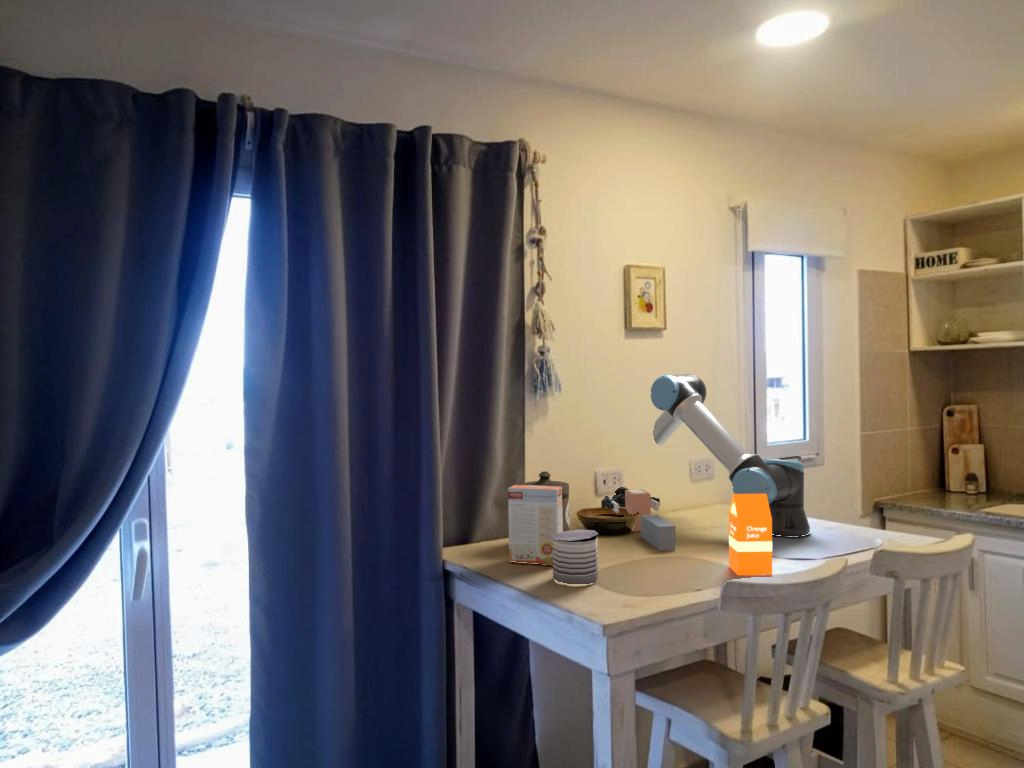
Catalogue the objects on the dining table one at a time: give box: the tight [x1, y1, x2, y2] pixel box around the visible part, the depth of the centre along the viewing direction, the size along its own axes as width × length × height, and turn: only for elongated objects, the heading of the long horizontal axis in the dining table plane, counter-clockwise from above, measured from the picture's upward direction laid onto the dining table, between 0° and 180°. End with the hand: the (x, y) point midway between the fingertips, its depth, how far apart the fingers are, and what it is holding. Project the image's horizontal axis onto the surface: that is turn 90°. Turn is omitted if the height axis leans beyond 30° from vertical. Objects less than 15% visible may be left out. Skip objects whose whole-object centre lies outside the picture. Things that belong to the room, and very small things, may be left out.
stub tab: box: [624, 489, 652, 532], centre depth 233 cm, size 8×6×12 cm
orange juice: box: [728, 493, 773, 576], centre depth 184 cm, size 8×9×20 cm
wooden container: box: [520, 470, 571, 532], centre depth 215 cm, size 15×15×22 cm
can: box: [552, 529, 599, 584], centre depth 178 cm, size 11×11×12 cm
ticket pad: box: [640, 514, 676, 552], centre depth 214 cm, size 16×5×7 cm, turn 8°
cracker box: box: [507, 484, 563, 565], centre depth 195 cm, size 14×6×21 cm, turn 71°
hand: (638, 507), depth 232 cm, fingers open, 13 cm apart
